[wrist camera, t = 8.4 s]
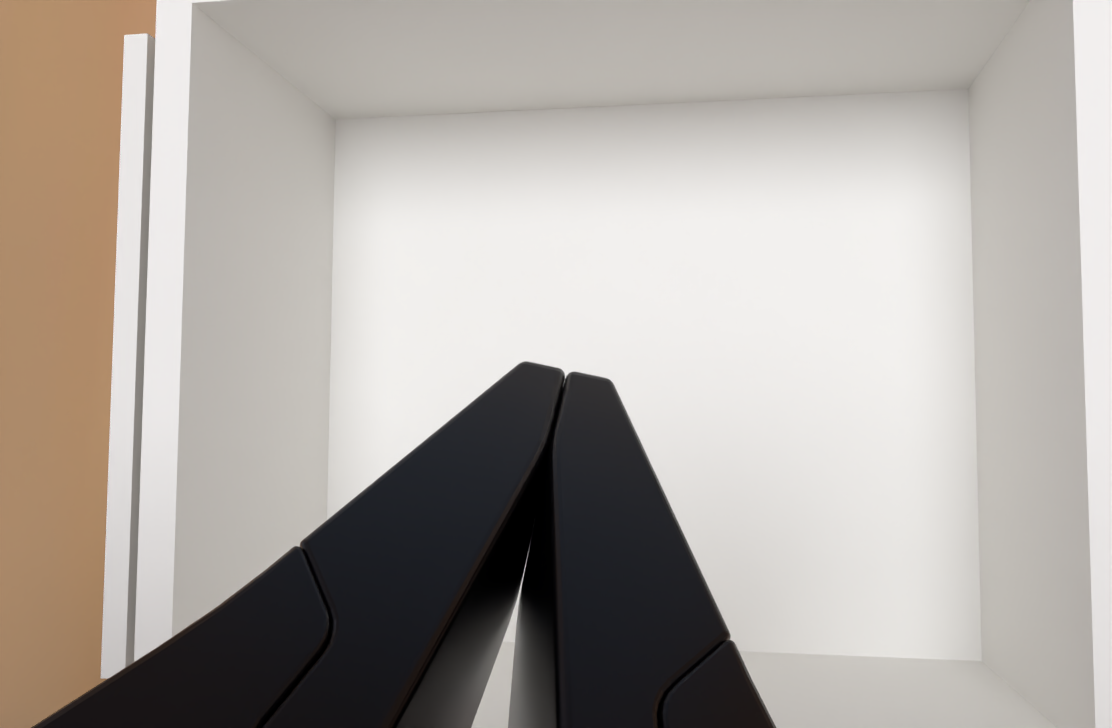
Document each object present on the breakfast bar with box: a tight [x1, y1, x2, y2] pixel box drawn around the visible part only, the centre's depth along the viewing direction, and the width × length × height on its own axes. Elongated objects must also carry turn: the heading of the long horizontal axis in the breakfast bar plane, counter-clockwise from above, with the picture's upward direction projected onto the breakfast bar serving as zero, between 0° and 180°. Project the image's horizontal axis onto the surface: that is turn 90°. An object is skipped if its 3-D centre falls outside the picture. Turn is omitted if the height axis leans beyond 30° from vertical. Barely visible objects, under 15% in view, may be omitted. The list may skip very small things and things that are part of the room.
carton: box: [101, 0, 1112, 728], centre depth 18 cm, size 13×15×6 cm
